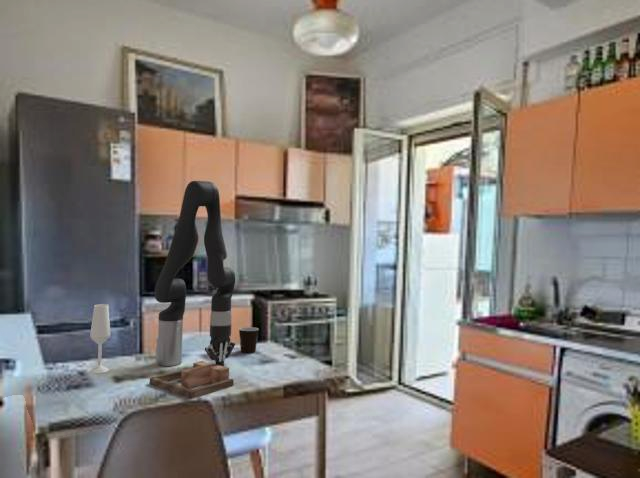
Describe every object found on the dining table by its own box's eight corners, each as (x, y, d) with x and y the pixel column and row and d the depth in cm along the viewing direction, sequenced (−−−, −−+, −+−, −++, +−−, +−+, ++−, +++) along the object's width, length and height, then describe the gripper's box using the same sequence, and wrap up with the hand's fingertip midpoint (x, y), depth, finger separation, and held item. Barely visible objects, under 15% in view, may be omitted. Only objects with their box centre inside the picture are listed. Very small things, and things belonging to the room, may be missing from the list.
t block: (171, 382, 158) (172, 368, 158) (201, 374, 168) (202, 360, 168) (198, 391, 150) (199, 376, 150) (228, 382, 160) (229, 367, 160)
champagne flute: (100, 367, 174) (102, 303, 174) (113, 369, 171) (115, 304, 171) (84, 371, 168) (86, 305, 168) (97, 374, 165) (100, 306, 165)
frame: (149, 383, 156) (149, 377, 156) (191, 372, 170) (192, 367, 170) (191, 398, 143) (191, 392, 143) (233, 385, 157) (233, 379, 157)
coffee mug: (254, 354, 200) (254, 331, 200) (235, 353, 201) (236, 330, 202) (262, 348, 211) (263, 326, 211) (244, 347, 213) (245, 325, 213)
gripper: (227, 319, 174) (226, 365, 174) (199, 324, 163) (198, 373, 163) (241, 322, 169) (240, 369, 169) (213, 326, 159) (212, 377, 159)
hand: (219, 371), depth 166 cm, fingers closed
